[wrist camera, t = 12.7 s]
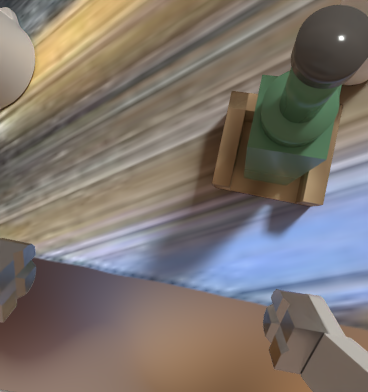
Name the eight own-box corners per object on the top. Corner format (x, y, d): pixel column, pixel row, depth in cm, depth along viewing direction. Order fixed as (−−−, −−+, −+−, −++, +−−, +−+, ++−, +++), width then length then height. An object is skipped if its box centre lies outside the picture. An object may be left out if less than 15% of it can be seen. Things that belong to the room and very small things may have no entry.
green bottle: (243, 177, 35) (253, 96, 11) (251, 138, 35) (279, -27, 11) (285, 185, 34) (397, 114, 10) (294, 144, 34) (424, -23, 10)
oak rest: (215, 187, 36) (211, 183, 31) (232, 107, 37) (231, 90, 32) (310, 206, 34) (322, 205, 29) (328, 120, 34) (343, 104, 29)
